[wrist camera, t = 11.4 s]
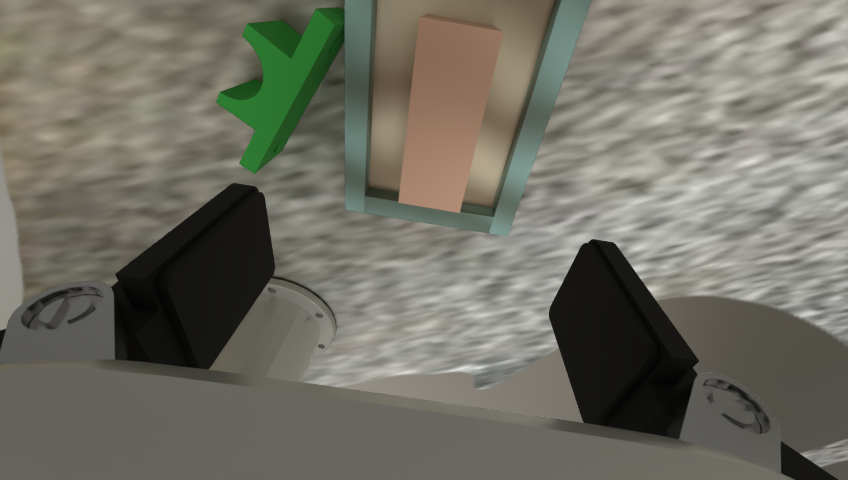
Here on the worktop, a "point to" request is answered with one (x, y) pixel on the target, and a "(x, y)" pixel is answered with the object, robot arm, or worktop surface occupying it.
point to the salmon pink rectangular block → (446, 109)
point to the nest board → (503, 117)
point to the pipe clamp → (283, 80)
